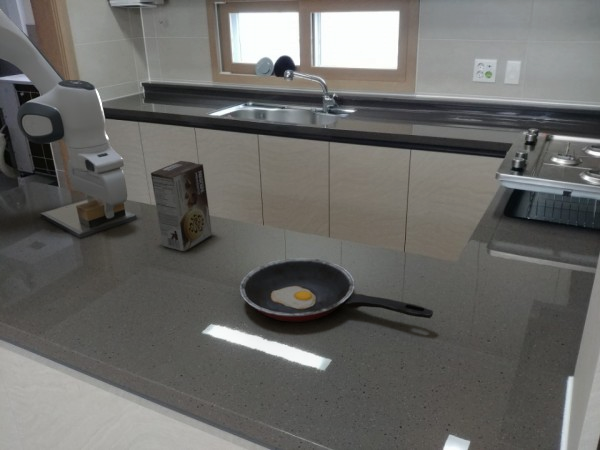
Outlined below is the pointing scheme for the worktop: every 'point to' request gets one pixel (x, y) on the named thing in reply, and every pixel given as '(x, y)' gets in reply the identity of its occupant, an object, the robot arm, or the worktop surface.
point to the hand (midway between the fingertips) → (102, 214)
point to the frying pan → (310, 291)
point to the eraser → (97, 212)
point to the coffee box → (181, 204)
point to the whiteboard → (70, 221)
